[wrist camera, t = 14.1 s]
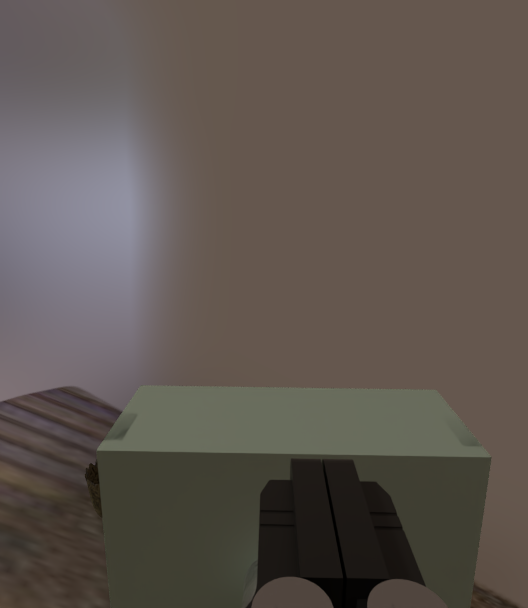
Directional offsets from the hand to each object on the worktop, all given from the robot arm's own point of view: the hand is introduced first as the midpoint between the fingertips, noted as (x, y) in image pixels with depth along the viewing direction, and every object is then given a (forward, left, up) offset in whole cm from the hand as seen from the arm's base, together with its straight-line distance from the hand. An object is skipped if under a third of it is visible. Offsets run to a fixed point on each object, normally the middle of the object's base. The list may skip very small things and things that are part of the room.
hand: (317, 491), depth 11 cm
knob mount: (+11, +10, -34) cm, 37 cm away
